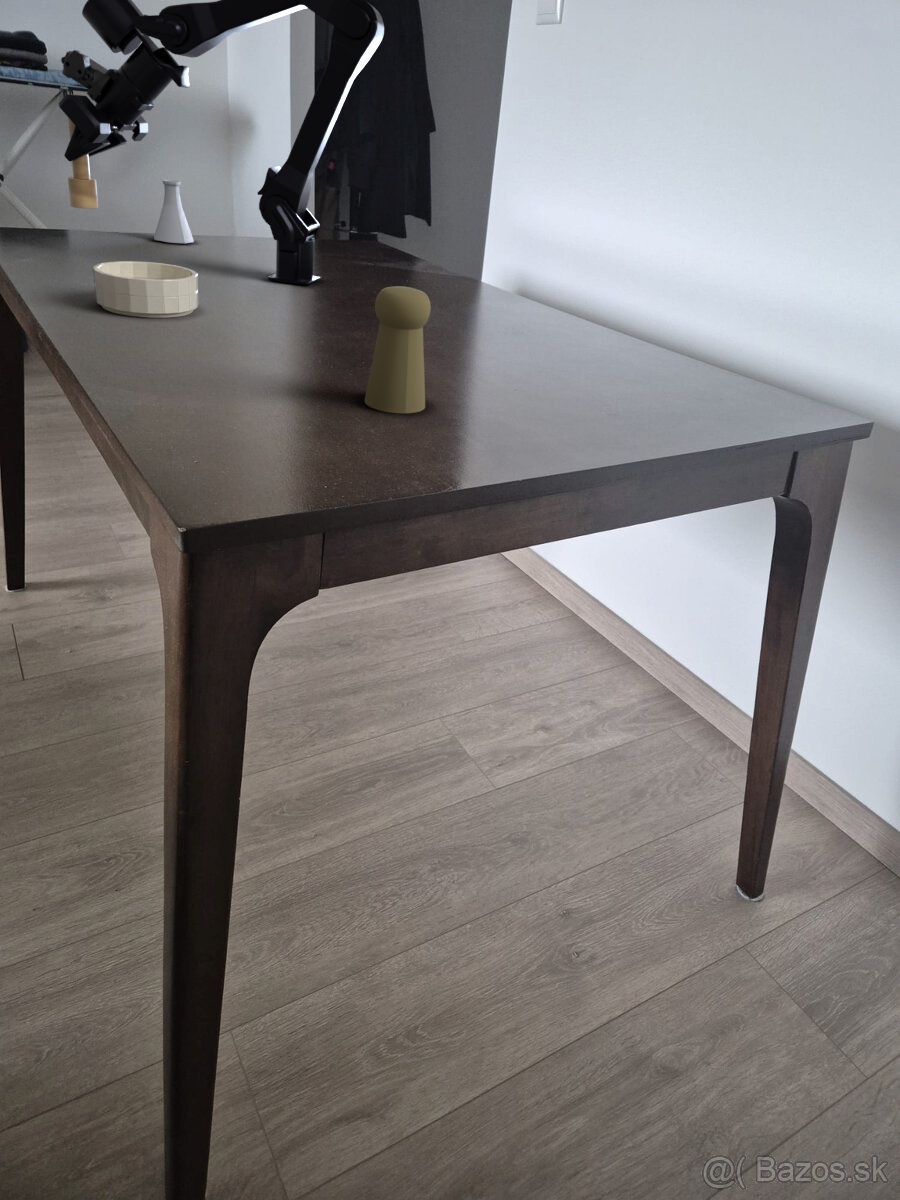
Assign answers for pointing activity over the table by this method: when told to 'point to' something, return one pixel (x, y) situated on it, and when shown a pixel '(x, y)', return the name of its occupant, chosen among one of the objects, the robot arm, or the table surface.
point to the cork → (399, 351)
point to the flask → (172, 217)
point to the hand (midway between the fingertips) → (71, 158)
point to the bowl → (146, 289)
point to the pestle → (81, 181)
